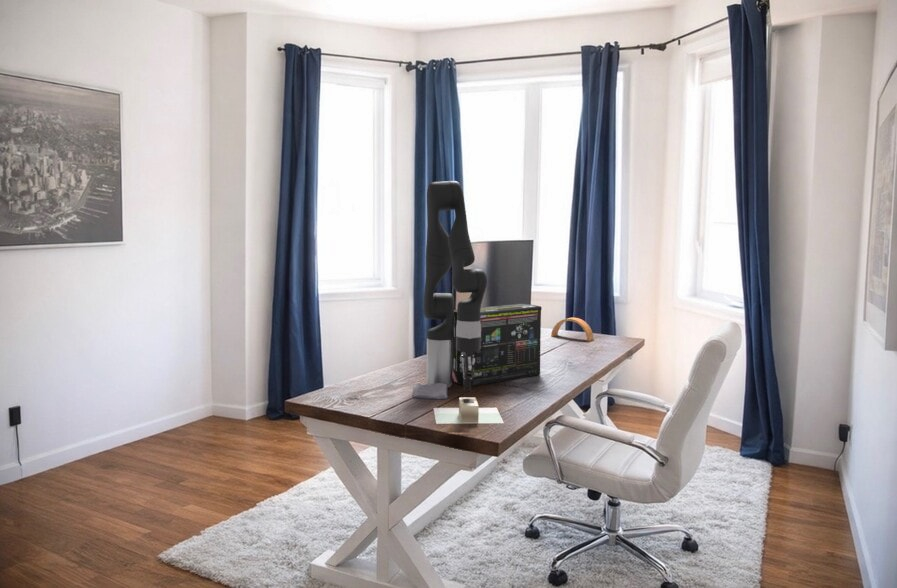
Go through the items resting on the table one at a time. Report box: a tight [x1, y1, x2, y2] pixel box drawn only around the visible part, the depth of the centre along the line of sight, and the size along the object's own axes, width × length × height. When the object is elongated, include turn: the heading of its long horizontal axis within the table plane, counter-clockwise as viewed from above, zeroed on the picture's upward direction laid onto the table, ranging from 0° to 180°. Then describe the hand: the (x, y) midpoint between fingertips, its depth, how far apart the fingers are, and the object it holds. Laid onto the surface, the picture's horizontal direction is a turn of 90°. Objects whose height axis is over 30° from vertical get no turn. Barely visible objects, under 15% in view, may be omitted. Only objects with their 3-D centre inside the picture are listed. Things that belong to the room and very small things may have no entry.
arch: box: [550, 317, 594, 342], centre depth 348 cm, size 6×20×10 cm, turn 55°
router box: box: [452, 302, 543, 387], centre depth 265 cm, size 36×11×27 cm, turn 125°
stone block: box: [412, 383, 448, 400], centre depth 239 cm, size 12×5×10 cm
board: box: [433, 407, 505, 425], centre depth 217 cm, size 16×20×1 cm
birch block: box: [458, 397, 480, 422], centre depth 214 cm, size 5×5×9 cm
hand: (467, 390), depth 219 cm, fingers closed
